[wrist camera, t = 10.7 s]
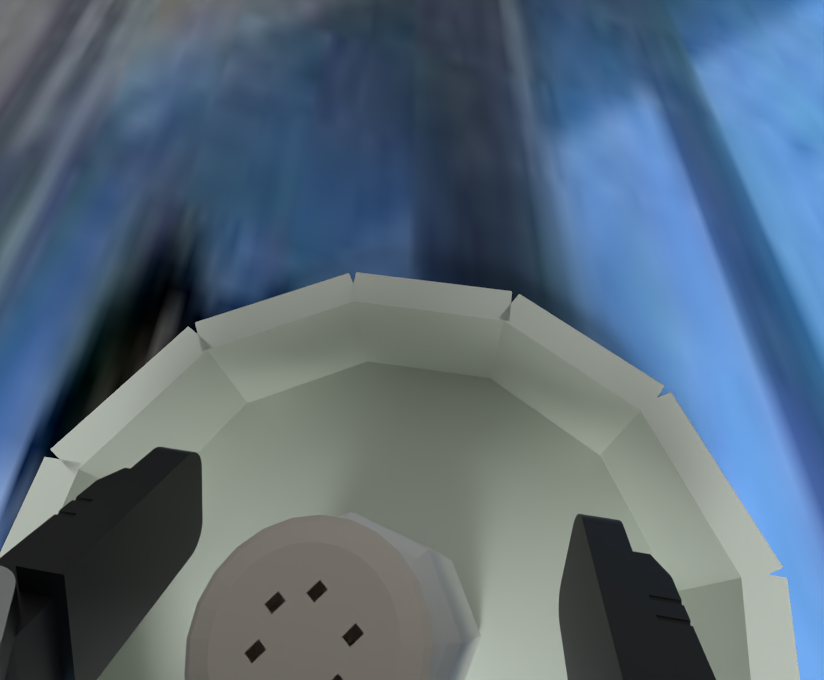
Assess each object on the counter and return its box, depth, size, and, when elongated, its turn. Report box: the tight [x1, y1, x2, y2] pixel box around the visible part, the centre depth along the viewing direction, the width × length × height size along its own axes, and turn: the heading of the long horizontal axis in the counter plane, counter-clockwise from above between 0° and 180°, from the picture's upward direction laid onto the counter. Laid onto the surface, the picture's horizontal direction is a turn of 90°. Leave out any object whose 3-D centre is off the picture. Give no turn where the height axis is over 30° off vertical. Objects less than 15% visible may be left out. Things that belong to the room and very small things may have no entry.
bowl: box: [0, 272, 800, 680], centre depth 15 cm, size 18×18×5 cm
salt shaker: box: [184, 512, 481, 680], centre depth 11 cm, size 5×5×11 cm
